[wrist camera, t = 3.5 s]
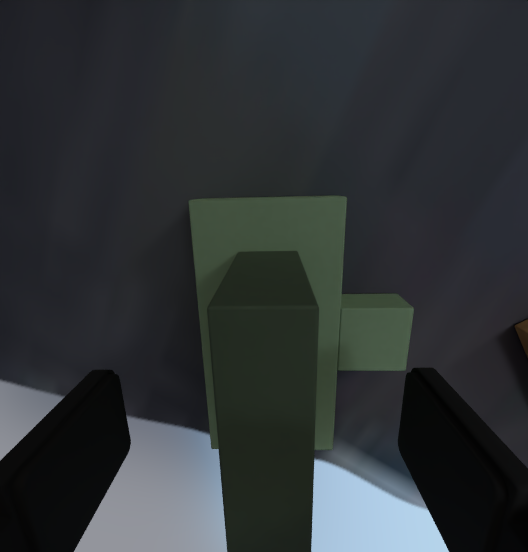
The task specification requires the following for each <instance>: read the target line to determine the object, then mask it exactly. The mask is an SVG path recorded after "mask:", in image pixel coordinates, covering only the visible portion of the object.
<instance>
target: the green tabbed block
mask: <svg viewBox="0 0 528 552" xmlns="http://www.w3.org/2000/svg"><path fill="white" fill-rule="evenodd" d="M346 204H347V198H346V197H344V196H292V197H248V198H204V199H194V200H189V213H190V224H191V235H192V245H193V256H194V267H195V277H196V288H197V299H198V309H199V320H200V331H201V342H202V352H203V363H204V374H205V384H206V395H207V406H208V416H209V427H210V438H211V448H212V449H219V458H220V469H221V482H222V494H223V505H224V517H225V529H226V541H227V552H311V538H312V507H313V479H314V450H332V449H333V436H334V418H335V400H336V382H337V370H338V371H405V370H406V364H407V356H408V349H409V341H410V334H411V326H412V319H413V311H414V308H413V307H412V306H411V305H410V304H408V303H407V302H406V301H405V300H404V299H403V298H401V297H400V296H399V295H398V294H341V293H342V275H343V257H344V240H345V222H346Z"/></svg>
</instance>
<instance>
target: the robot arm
mask: <svg viewBox="0 0 528 552" xmlns="http://www.w3.org/2000/svg"><path fill="white" fill-rule="evenodd" d="M130 441H131V440H130V435H129V428H128V423H127V417H126V411H125V406H124V400H123V395H122V389H121V383H120V378H119V376H118V375H117V374H115V373H114V371H113V370H92V371H91V372H90V373H89V374H88V375H87V376H86V377H85V378H84V379H83V380H82V381H81V382H80V383H79V384H78V385H77V386H76V387H75V388H74V389H73V390H71V391H70V392H69V393H68V394H67V395H66V396H65V397H64V398H63V399H62V400H61V402H59V403H58V404H57V405H56V406H55V407H54V409H52V410H51V411H50V412H49V413H48V414H47V415H46V416H45V417H44V418H43V419H42V420H41V421H40V422H39V423H38V424H37V425H36V426H35V427H34V428H33V429H32V430H31V431H30V432H29V433H28V434H27V435H26V436H25V437H24V438H23V439H22V440H21V441H20V442H19V443H18V444H17V445H16V446H15V447H14V448H13V449H12V450H11V451H10V452H9V453H8V454H7V455H6V456H5V457H4V458H3V459H2V460H1V461H0V552H74V550H75V548H76V547H77V545H78V543H79V541H80V539H81V538H82V536H83V534H84V532H85V530H86V528H87V527H88V525H89V523H90V521H91V519H92V518H93V516H94V514H95V512H96V510H97V509H98V507H99V505H100V503H101V501H102V499H103V498H104V496H105V494H106V492H107V490H108V489H109V487H110V485H111V483H112V481H113V480H114V477H115V476H116V474H117V472H118V471H119V469H120V467H121V465H122V463H123V461H124V460H125V458H126V456H127V454H128V452H129V449H130V444H131V442H130ZM398 446H399V451H400V453H401V456H402V458H403V460H404V462H405V464H406V466H407V468H408V470H409V472H410V474H411V476H412V478H413V480H414V482H415V484H416V486H417V488H418V490H419V492H420V494H421V496H422V498H423V500H424V502H425V504H426V506H427V508H428V510H429V512H430V514H431V516H432V518H433V520H434V522H435V524H436V526H437V528H438V530H439V532H440V534H441V536H442V538H443V540H444V542H445V544H446V546H447V548H448V550H449V552H528V468H527V467H526V466H525V465H524V464H523V463H522V462H521V461H520V460H519V459H518V458H517V457H516V456H515V455H514V453H513V452H512V451H511V450H510V449H509V448H508V447H507V446H506V445H505V444H504V443H503V442H502V441H501V439H500V438H499V437H498V436H497V435H496V434H495V433H494V432H493V431H492V430H491V429H490V428H489V427H488V426H487V424H486V423H485V422H484V421H483V420H482V419H481V418H480V417H479V416H478V415H477V414H476V413H475V412H474V411H473V409H472V408H471V407H470V406H469V405H468V404H467V403H466V402H465V401H464V400H463V399H462V398H461V397H460V396H459V394H458V393H457V392H456V391H455V390H454V389H453V388H452V387H451V386H450V385H449V384H448V383H447V382H446V381H445V379H444V378H443V377H442V376H441V375H440V374H439V373H438V372H437V371H436V370H435V369H434V368H413V369H412V371H411V373H407V375H406V380H405V388H404V396H403V404H402V412H401V420H400V428H399V436H398Z"/></svg>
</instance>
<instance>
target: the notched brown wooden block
mask: <svg viewBox="0 0 528 552" xmlns="http://www.w3.org/2000/svg"><path fill="white" fill-rule="evenodd" d="M515 329H516V331H517V334H518V336H519V338H520V341H521V343H522V346H523V348H524V351H525V353H526V355H527V358H528V319H527V320H525V321H523V322H521V323H519V324H516V325H515Z"/></svg>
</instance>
